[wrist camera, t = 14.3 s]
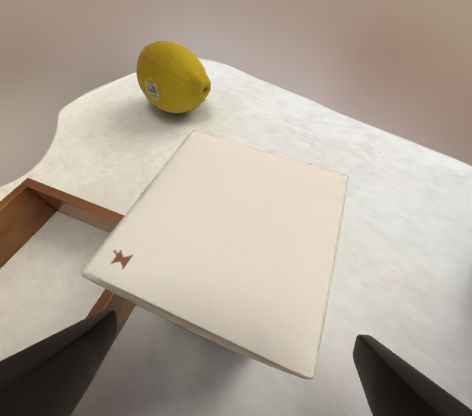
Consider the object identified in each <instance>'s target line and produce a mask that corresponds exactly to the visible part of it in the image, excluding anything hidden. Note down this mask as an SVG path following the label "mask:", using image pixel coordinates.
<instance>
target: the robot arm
mask: <svg viewBox="0 0 472 416" xmlns="http://www.w3.org/2000/svg"><path fill="white" fill-rule="evenodd" d="M116 333H117V313H116V311H115V310H110V309H104V310H102V311H100V312H98V313H96V314H94V315H92V316H90V317H88V318H86V319H84V320H82V321H80V322H78V323H76V324H74V325H72V326H70V327H68V328H66V329H64V330H62V331H60V332H58V333H56V334H54V335H52V336H50V337H48V338H46V339H44V340H42V341H40V342H38V343H36V344H34V345H32V346H30V347H28V348H26V349H24V350H22V351H20V352H18V353H16V354H14V355H12V356H10V357H8V358H6V359H4V360H2V361H0V416H70V415H71V413H72V412H73V410H74V408H75V407H76V405H77V404H78V402H79V401H80V399H81V397H82V396H83V394H84V393H85V391H86V389H87V388H88V386H89V385H90V383H91V381H92V380H93V378H94V376H95V374H96V372H97V370H98V369H99V367H100V365H101V363H102V361H103V359H104V357H105V355H106V353H107V351H108V349H109V347H110V345H111V344H112V342H113V340H114V338H115V336H116ZM353 359H354V363H355V366H356V369H357V371H358V374H359V377H360V380H361V383H362V386H363V389H364V392H365V395H366V398H367V401H368V404H369V407H370V409H371V412H372V414H373V416H472V410H471V409H470V408H468V407H467V406H465V405H464V404H463V403H461V402H460V401H459V400H457V399H456V398H455V397H453V396H452V395H450V394H449V393H448V392H446V391H445V390H444V389H442V388H441V387H440V386H438V385H437V384H435V383H434V382H433V381H431V380H430V379H429V378H427V377H426V376H425V375H423V374H422V373H420V372H419V371H418V370H416V369H415V368H414V367H412V366H411V365H410V364H408V363H407V362H405V361H404V360H403V359H401V358H400V357H399V356H397V355H396V354H395V353H393V352H392V351H391V350H389V349H388V348H386V347H385V346H384V345H382V344H381V343H380V342H378V341H377V340H376V339H374V338H373V337H371V336H369V335H358V336H357V338H356V342H355V346H354V351H353Z"/></svg>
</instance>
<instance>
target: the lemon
mask: <svg viewBox="0 0 472 416" xmlns="http://www.w3.org/2000/svg"><path fill="white" fill-rule="evenodd" d="M137 78H138V82H139V85H140V88H141V89H142V91H143V93H144V94H145V96H146V97H147V98H148V100H149V101H150V102H151V103H152V104H153V105H155V106H156V107H158V108H159V109H161V110H163V111H165V112H169V113H184V112H188V111H191V110H193V109H195V108H196V107H198V106H199V105H200V104H201V102H203V101H204V100H205V98H206V97H207V95H208V93H209V92H210V87H211V83H210V80H209V78H208V76H207V75H206V72H205V69H204V68H203V66H202V64H201V63H200V61H199V60H198V59H197V57H196V56H195V55H194V54H192V53H191V52H190V51H188V50H187V49H186V48H184V47H183V46H181V45H179V44H176V43H173V42H168V41H158V42H154V43H151V44H149V45H147V46H146V47H145V48H144V49H143V51H142V52H141V54H140V56H139V58H138V63H137Z"/></svg>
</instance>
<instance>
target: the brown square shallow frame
mask: <svg viewBox="0 0 472 416" xmlns="http://www.w3.org/2000/svg"><path fill="white" fill-rule="evenodd" d="M56 210H58V211H60V212H62V213H65V214H67V215H70V216H72V217H74V218H77V219H79V220H82V221H84V222H86V223H89V224H91V225H94V226H96V227H98V228H101V229H103V230H106V231H108V232H111V233H112V231H113V230H114V229H115V228H116V226H117V225H118V224H119V223H120V221H121V220H122V219H123V217H124V215H121V214H119V213H116V212H113V211H111V210H108V209H106V208H103V207H101V206H98V205H96V204H93V203H91V202H88V201H85V200H83V199H80V198H78V197H75V196H73V195H70V194H68V193H65V192H63V191H60V190H57V189H55V188H52V187H50V186H47V185H45V184H42V183H40V182H37V181H35V180H32V179H29V178H27V179H26V180H25V181H24V182H22V183H21V185H19V186H18V187H17V188H16V189H14V190H13V191H12V192H11V193H10V194H9V195H7V196H6V197H5V198H4V199H3V200H1V201H0V268H1V267H2V266H3V265H4V264H5V263H6V262H7V261H8V260H9V259H10V258H11V257H12V256H13V254H14V253H15V252H16V251H17V250H18V249H19V248H20V247H21V246H22V245H23V244H24V243H25V242H26V241H27V240H28V239H29V238H30V237H31V236H32V235H33V234H34V233H35V232H36V231H37V230H38V229H39V228H40V227H41V226H42V225H43V224H44V223H45V222H46V221H47V220H48V219H49V218H50V217H51V216H52V215H53V214H54V213H55V212H56ZM134 306H135V304H134V303H133V302H131V301H129V300H127V299H125V298H123V297H121V296H119V295H117V294H115V293H113V292H111V291H109V290H107V289H105V291H104V292H103V294H102V295H101V297H100V298H99V300H98V301H97V302H96V304H95V305H94V307H93V308H92V310H91V311H90V313H89V314H88V316H87V317H86V318H88V317H90V316H92V315H94V314H96V313H98V312H100V311H102V310H104V309H110V310H115V311H116V313H117V333H116V336H117V335H118V333H119V331H120V330H121V328H122V326H123V325H124V323H125V321H126V320H127V318H128V316H129V315H130V313H131V311H132V309H133V308H134ZM86 318H85V319H86ZM116 336H115V338H116ZM115 338H114V340H115ZM114 340H113V341H114ZM112 343H113V342H112ZM111 345H112V344H111ZM111 345H110V346H111ZM109 348H110V347H109ZM108 350H109V349H108Z"/></svg>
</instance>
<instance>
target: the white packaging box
mask: <svg viewBox="0 0 472 416" xmlns="http://www.w3.org/2000/svg"><path fill="white" fill-rule="evenodd" d="M348 180H349V178H348V176H347V175H343V174H340V173H337V172H334V171H330V170H327V169H324V168H321V167H317V166H314V165H311V164H307V163H304V162H300V161H297V160H294V159H290V158H287V157H284V156H280V155H277V154H274V153H270V152H267V151H263V150H260V149H256V148H253V147H249V146H246V145H242V144H239V143H235V142H232V141H229V140H226V139H223V138H219V137H216V136H213V135H210V134H207V133H204V132H201V131H198V130H194V131H192V132H191V133H189V134H188V136H187V137H186V138H185V140H184V141H183V142H182V143H181V145H180V146H179V148H178V149H177V150H176V151H175V153H174V154H173V155H172V156H171V158H170V159H169V160H168V161H167V163H166V164H165V165H164V167H163V168H162V169H161V170H160V172H159V173H158V174H157V175H156V177H155V178H154V179H153V180H152V182H151V183H150V184H149V185H148V186H147V187H146V189H145V190H144V191H143V192H142V194H141V195H140V197H139V198H138V200H137V201H136V202H135V203H134V205H133V206H132V207H131V208H130V210H129V211H128V212H127V214H126V215H125V216H124V217H123V219H122V220H121V221H120V223H119V224H118V225H117V226H116V228H115V229H114V230H113V231H112V233H111V234H110V235H109V236H108V238H107V239H106V240H105V241H104V243H103V244H102V245H101V246H100V248H99V249H98V250H97V252H96V253H95V254H94V255H93V256H92V258H91V259H90V260H89V261H88V262H87V263H86V264H85V266H84V267H83V268H82V270H81V275H82V276H83V277H85V278H87V279H89V280H90V281H92V282H94V283H96V284H98V285H100V286H102V287H104V288H105V289H107V290H109V291H111V292H113V293H115V294H117V295H119V296H121V297H123V298H125V299H127V300H129V301H131V302H133V303H134V304H136V305H138V306H140V307H142V308H144V309H146V310H148V311H150V312H152V313H154V314H156V315H158V316H160V317H162V318H164V319H166V320H168V321H170V322H172V323H174V324H176V325H178V326H180V327H183V328H185V329H187V330H189V331H191V332H193V333H195V334H197V335H199V336H202V337H204V338H206V339H208V340H210V341H213V342H215V343H217V344H219V345H221V346H224V347H226V348H228V349H230V350H232V351H235V352H237V353H240V354H242V355H244V356H247V357H249V358H251V359H254V360H257V361H259V362H261V363H264V364H266V365H269V366H271V367H274V368H277V369H279V370H282V371H285V372H287V373H290V374H293V375H296V376H298V377H301V378H304V379H312V378H313V377H314V373H315V368H316V363H317V357H318V352H319V347H320V342H321V337H322V331H323V326H324V321H325V315H326V309H327V303H328V297H329V292H330V286H331V280H332V274H333V268H334V263H335V257H336V251H337V245H338V239H339V234H340V228H341V222H342V216H343V209H344V203H345V197H346V191H347V184H348Z"/></svg>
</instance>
